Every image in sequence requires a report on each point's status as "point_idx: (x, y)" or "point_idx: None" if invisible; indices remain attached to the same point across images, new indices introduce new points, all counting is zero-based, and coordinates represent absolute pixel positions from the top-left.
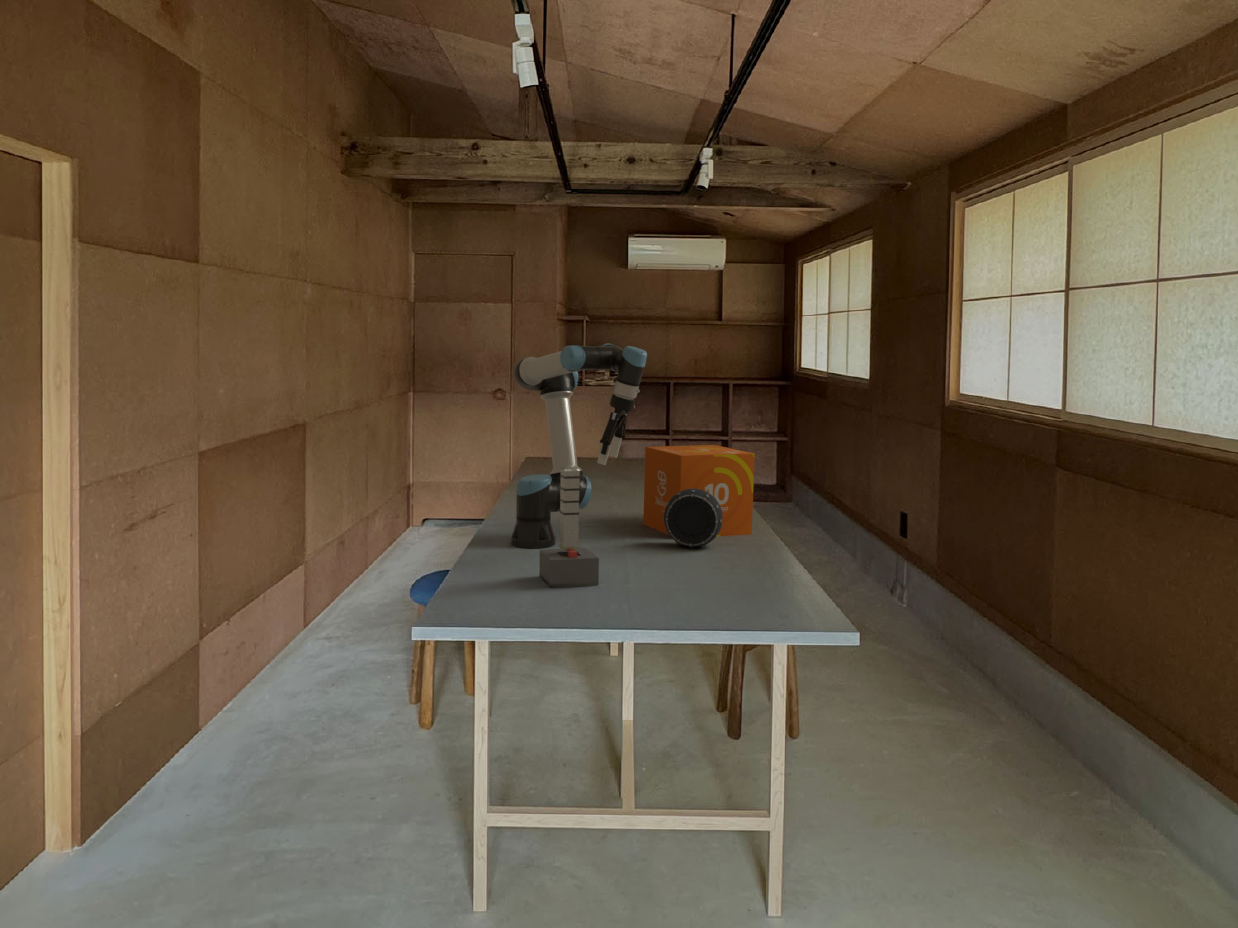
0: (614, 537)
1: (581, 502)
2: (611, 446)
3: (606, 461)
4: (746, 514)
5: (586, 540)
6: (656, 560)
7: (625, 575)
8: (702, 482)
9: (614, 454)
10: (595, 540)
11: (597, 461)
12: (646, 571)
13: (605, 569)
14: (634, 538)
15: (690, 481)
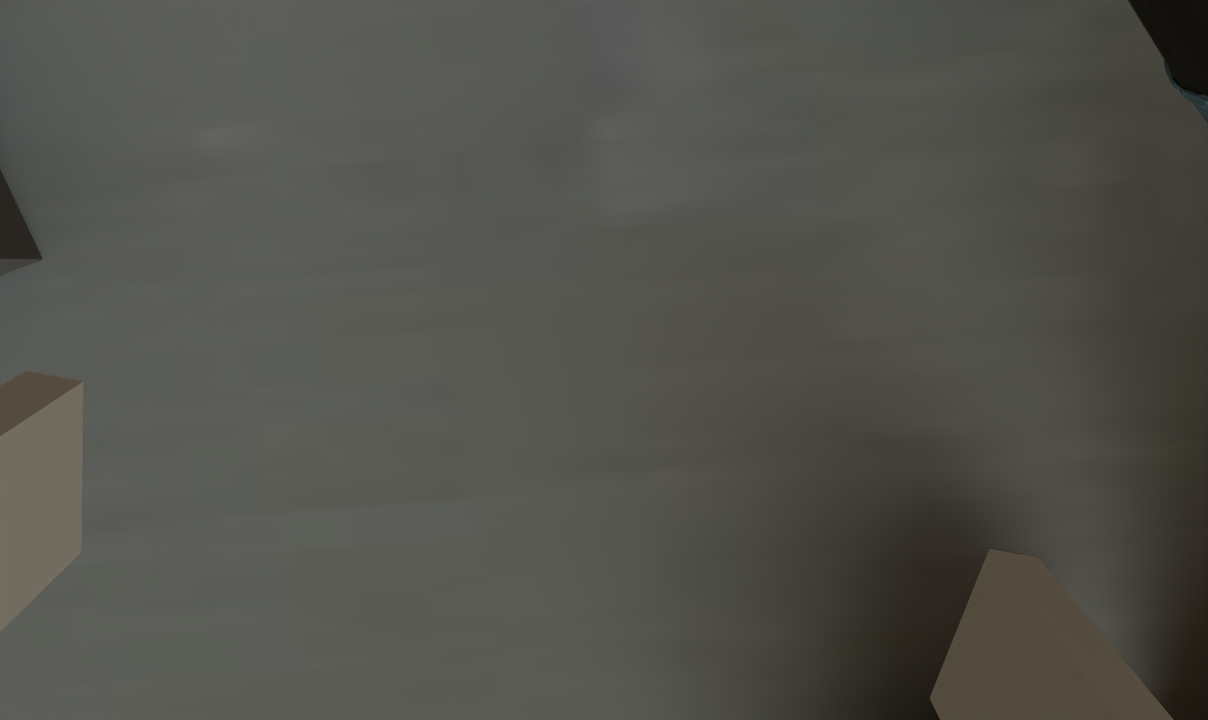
0: (1161, 357)
1: (1183, 92)
2: (1102, 710)
3: (16, 597)
4: None
5: (1049, 177)
6: (514, 670)
7: None
8: None
9: (975, 692)
10: (1055, 238)
11: (8, 386)
12: (195, 632)
13: (199, 377)
14: (1142, 488)
15: None
